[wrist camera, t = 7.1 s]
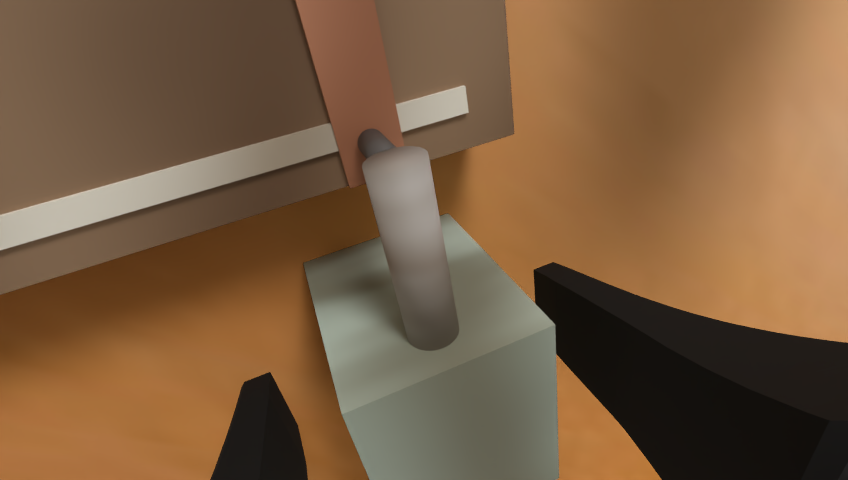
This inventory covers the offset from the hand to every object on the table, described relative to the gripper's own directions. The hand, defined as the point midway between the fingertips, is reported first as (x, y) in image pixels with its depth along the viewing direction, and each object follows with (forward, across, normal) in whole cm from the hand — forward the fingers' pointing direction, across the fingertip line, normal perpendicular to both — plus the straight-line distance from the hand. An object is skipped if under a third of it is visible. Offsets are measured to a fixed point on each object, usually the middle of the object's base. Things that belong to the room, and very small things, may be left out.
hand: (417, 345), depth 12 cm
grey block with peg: (+2, 0, -2) cm, 2 cm away
